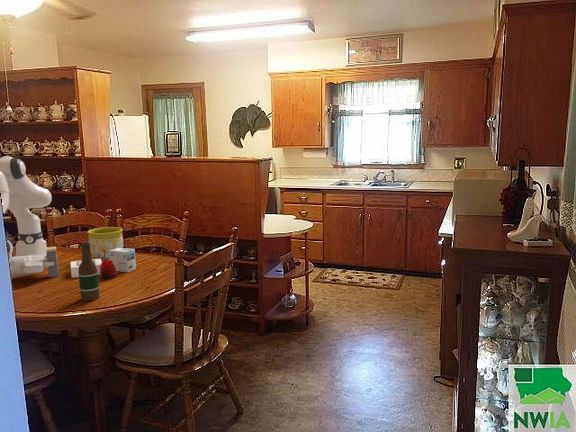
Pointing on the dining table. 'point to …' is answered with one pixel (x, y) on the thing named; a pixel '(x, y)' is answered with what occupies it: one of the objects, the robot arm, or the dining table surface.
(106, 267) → the red clay folk toy
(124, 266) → the light bulb box
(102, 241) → the flowerpot
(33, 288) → the dining table surface
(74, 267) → the socket block
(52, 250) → the plug
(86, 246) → the beer bottle
